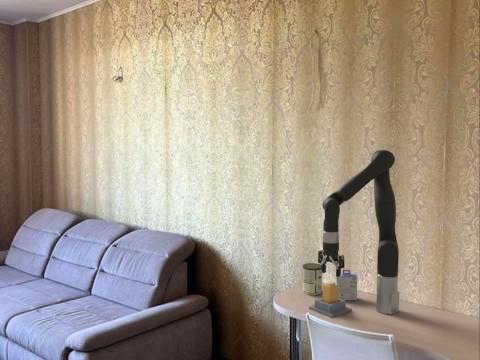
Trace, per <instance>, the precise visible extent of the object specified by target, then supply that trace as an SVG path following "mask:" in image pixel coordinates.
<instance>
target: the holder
mask: <svg viewBox="0 0 480 360" xmlns="http://www.w3.org/2000/svg"><path fill="white" fill-rule="evenodd" d="M346 304H347V300H343V299H340V298H338V302H335V303H332V304H328V303H325V302H323V301H322V297H320V298H317V299H314V304H312V305H309V306H308V309H309V310H311V311H314V312H316V313H319V314H321V315H324V316H326V317H329V318H335V317H337V316H340V315H343V314H346V313H349V312H352V308H351V307H349V306H347V305H346Z"/></svg>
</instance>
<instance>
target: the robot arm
mask: <svg viewBox="0 0 480 360" xmlns="http://www.w3.org/2000/svg"><path fill="white" fill-rule="evenodd" d="M395 161H396V159H395V155H394V154H393V152H392V151H390V150H386V149H378V150H376V151H374V152H373V153H372V155H371V157H370V163H369V164H368V165H367V166H365V167H364V169H362V170H361V171H359V172H358V173H356V174H355V175H353V176H351V178H349V179H347V180H346V181H345V182H344V183H343V184H342V185H341V186H340V187H339V188H338V189H336V190H335V191H333V192H332V193H331V194H329V195H328V196H327V197H326V198H324V200H323V201H322V209H323V210H324V219H323V222H322V223H323V225H322V226H323V229H322V232H323V233H322V249H321V250H318V253H317V264H320V265H321V271H322V274H326V273H327V263H331V264H332V265H333V266H334V267H335V277H336V278H337V277H340V276H341V274H342V270H343V269H344V268H345V264H346V263H345V255H344V254H339V251H340V234H339V233H340V232H339V230H340V229H339V228H340V227H339V226H340V225H339V220H340V211H341V207H340V206H341V205H343V204H344V203H345V202H348V201H349V200H351V199H352V198H354V196H356V194H358V193H359V192H360V191H361V190H362V189H363V188H364V187H366V186H367V185H368V184H369V183H370V182H372V181H373V192H374V193H373V195H374V199H373V200H374V210H375V211H374V212H375V218H376V223H377V225H378V227H377V228H378V246H377V252H376V253H377V257H376V258H377V259H376V260H377V261H376V263H377V264H376V271H377V272H376V305H375V307H376V308H375V309H376V311H377V312H378V313H381V314H386V315H394V314H397V313H399V312H400V292H399V291H398V289H399V288H398V285H399V283H398V281H399V259H400V258H399V257H400V256H399V254H400V253H399V252H400V251H399V244H398V240H397V233H396V221H397V220H396V219H397V206H396V205H397V203H396V197H395V193H394V189H393V186H392V183H391V179H390V170H391V168H392V167H393V166H394V164H395Z"/></svg>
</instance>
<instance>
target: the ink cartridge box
mask: <svg viewBox="0 0 480 360" xmlns="http://www.w3.org/2000/svg"><path fill="white" fill-rule="evenodd" d="M336 284H337V285H338V298H340V299H343V300H345V301H357V300H358V276H357V274H356V273H351V270H350V269H342V273H341V276H340V277H336Z"/></svg>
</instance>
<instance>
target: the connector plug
mask: <svg viewBox="0 0 480 360" xmlns="http://www.w3.org/2000/svg"><path fill="white" fill-rule="evenodd" d="M321 294H322V295H321V298H322V301H323V302H325V303H328V304H332V303H335V302H338V285H337V283H336V282H335V281H328V282H326V283H325V284H322V293H321Z"/></svg>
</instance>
